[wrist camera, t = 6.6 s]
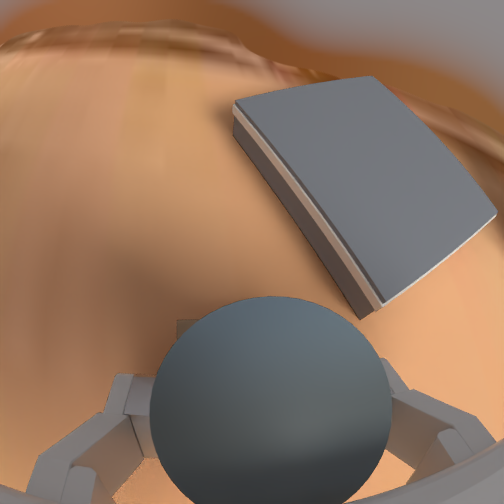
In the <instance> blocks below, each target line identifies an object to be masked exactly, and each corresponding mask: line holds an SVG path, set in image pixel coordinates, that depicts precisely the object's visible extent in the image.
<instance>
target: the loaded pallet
mask: <svg viewBox="0 0 504 504" xmlns="http://www.w3.org/2000/svg"><path fill="white" fill-rule="evenodd" d="M391 420H392V397H391V391H390V385H389V381H388V378H387V375H386V372H385V369H384V367H383V365H382V362H381V360H380V358H379V356H378V355H377V353H376V352H375V350H374V348H373V347H372V345H371V344H370V343H369V341H368V340H367V339H366V338H365V337H364V335H363V334H362V333H361V332H360V331H359V330H358V329H357V328H355V327H354V326H353V325H352V324H351V323H350V322H348V321H347V320H346V319H344V318H343V317H341V316H340V315H338V314H336V313H335V312H333V311H331V310H329V309H328V308H325V307H323V306H320V305H318V304H315V303H312V302H309V301H305V300H301V299H296V298H289V297H273V296H268V297H257V298H251V299H246V300H242V301H237V302H235V303H232V304H229V305H226V306H223V307H221V308H219V309H217V310H215V311H213V312H211V313H209V314H208V315H206V316H205V317H203V318H202V319H200V320H177V341H176V342H175V344H174V345H173V346H172V348H171V349H170V351H169V352H168V354H167V355H166V357H165V358H164V360H163V362H162V364H161V366H160V368H159V370H158V372H157V375H156V378H155V381H154V385H153V388H152V393H151V399H150V412H149V421H150V429H151V436H152V440H153V444H154V447H155V451H156V453H157V455H158V458H159V460H160V462H161V464H162V466H163V468H164V470H165V471H166V473H167V474H168V476H169V478H170V479H171V480H172V482H173V483H174V484H175V485H176V486H177V487H178V489H179V490H180V491H181V492H182V493H183V494H184V495H185V496H187V497H188V498H189V499H190V500H191V501H192V502H194V503H195V504H342V503H344V502H345V501H346V500H348V499H349V498H350V497H351V496H352V495H353V494H355V493H356V492H357V491H358V490H359V489H360V488H361V486H362V485H363V484H364V483H365V482H366V481H367V480H368V478H369V477H370V475H371V474H372V473H373V471H374V470H375V468H376V466H377V465H378V463H379V461H380V459H381V457H382V455H383V452H384V450H385V447H386V444H387V441H388V437H389V433H390V428H391Z"/></svg>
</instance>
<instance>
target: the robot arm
mask: <svg viewBox="0 0 504 504" xmlns="http://www.w3.org/2000/svg"><path fill="white" fill-rule="evenodd" d="M380 360H381V362H382V365H383V367H384V369H385V372H386V375H387V378H388V381H389V385H390V391H391V397H392V420H391V428H390V433H389V437H388V441H387V444H386V447H385V449H386V450H388V451H389V452H391V453H392V454H393V455H395V456H396V457H398V458H399V459H401V460H402V461H403V462H405V463H406V464H408V465H409V466H411V467H412V468H414V469H415V471H414V472H413V474H412V475H411V477H410V478H409V480H408V481H407V483H406V485H404V486H401V487H398V488H395V489H392V490H389V491H386V492H383V493H380V494H377V495H374V496H370V497H367V498H363V499H360V500H356V501H352V502H348V503H344V504H504V438H503V439H502V440H500V441H498V442H496V441H495V439H494V438H493V437H492V436H491V434H490V433H489V432H488V431H487V429H486V428H485V427H484V426H483V424H482V423H481V422H480V421H479V420H478V418H477V417H476V416H474V415H471V414H469V413H467V412H464V411H462V410H460V409H457V408H455V407H453V406H450V405H448V404H446V403H444V402H441V401H439V400H437V399H434V398H432V397H430V396H428V395H426V394H423V393H421V392H419V391H417V390H414V389H413V390H409V389H408V387H407V386H406V385H405V383H404V382H403V380H402V379H401V378H400V376H399V375H398V374H397V373H396V371H395V370H394V369H393V367H392V366H391V365H390V363H389V362H388V361H387V360H386V359H385V358H380ZM155 378H156V375H146V374H126V373H118V374H117V375H116V376H115V378H114V381H113V384H112V387H111V390H110V393H109V396H108V399H107V402H106V405H105V409H104V412H103V413H97V414H96V415H94V416H93V417H92V418H90V419H89V420H87V421H86V422H85V423H83V424H82V425H81V426H79V427H78V428H77V429H75V430H74V431H72V432H71V433H70V434H68V435H67V436H66V437H64V438H63V439H61V440H60V441H59V442H57V443H56V444H55V445H53V446H52V447H50V448H49V449H48V450H46V451H45V452H43V453H42V454H41V455H39V457H38V459H37V462H36V464H35V467H34V470H33V473H32V475H31V478H30V481H29V484H28V487H27V489H26V492H25V493H24V492H21V491H18V490H15V489H13V488H10V487H7V486H5V485H2V484H0V504H116V503H115V501H114V500H113V498H112V496H113V495H114V494H115V492H116V491H117V490H118V489H119V488H120V487H121V486H122V484H123V483H124V482H125V481H126V480H127V479H128V478H129V476H130V475H131V474H132V473H133V472H134V471H135V469H136V468H137V467H138V466H139V465H140V464H141V462H142V461H143V460H144V458H158V455H157V453H156V451H155V447H154V444H153V440H152V436H151V429H150V421H149V412H150V399H151V393H152V388H153V385H154V381H155Z"/></svg>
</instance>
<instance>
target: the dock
mask: <svg viewBox="0 0 504 504" xmlns="http://www.w3.org/2000/svg"><path fill="white" fill-rule="evenodd" d="M232 113H233V114H234V127H233V136H234V137H235V139H236V140H237V141H238V143H239V144H240V145H241V147H242V148H243V149H244V151H245V152H246V154H247V155H248V156H249V158H250V159H251V160H252V162H253V163H254V164H255V166H256V167H257V169H258V170H259V171H260V173H261V174H262V175H263V177H264V178H265V180H266V181H267V182H268V184H269V185H270V187H271V188H272V189H273V191H274V192H275V194H276V195H277V196H278V198H279V199H280V201H281V202H282V204H283V205H284V206H285V208H286V209H287V211H288V212H289V214H290V215H291V216H292V218H293V219H294V221H295V222H296V224H297V225H298V227H299V228H300V230H301V231H302V232H303V234H304V235H305V237H306V238H307V240H308V241H309V243H310V244H311V246H312V247H313V249H314V250H315V252H316V253H317V255H318V256H319V258H320V259H321V261H322V262H323V264H324V265H325V267H326V268H327V270H328V271H329V273H330V274H331V276H332V277H333V279H334V280H335V282H336V283H337V285H338V287H339V288H340V290H341V291H342V293H343V294H344V296H345V297H346V299H347V301H348V302H349V304H350V305H351V307H352V308H353V310H354V312H355V313H356V315H357V316H358V318H359V319H360V320H361V319H363V318H364V317H366V316H367V315H368V314H370V313H371V312H373V311H374V310H375V311H378V310H379V309H381V308H382V307H384V306H385V305H386V304H388V303H389V302H391V301H392V300H393V299H395V298H396V297H398V296H399V295H400V294H402V293H403V292H404V291H406V290H407V289H408V288H410V287H411V286H412V285H414V284H415V283H416V282H418V281H419V280H420V279H422V278H423V277H424V276H426V275H427V274H428V273H430V272H431V271H432V270H433V269H435V268H436V267H437V266H438V265H440V264H441V263H442V262H443V261H445V260H446V259H447V258H448V257H450V256H451V255H452V254H453V253H454V252H456V251H457V250H458V249H459V248H460V247H462V246H463V245H464V244H465V243H466V242H467V241H469V240H470V239H471V238H472V237H473V236H474V235H476V234H477V233H478V232H479V231H480V230H481V229H482V228H483V227H485V226H486V225H487V224H488V223H489V222H490V221H491V220H492V219H493V218H494V217H496V216H497V215H496V214H497V213H498V211H497V209H496V208H495V206H494V205H493V204H492V202H491V201H490V199H489V198H488V197H487V195H486V194H485V193H484V192H483V190H482V189H481V188H480V186H479V185H478V184H477V182H476V181H475V180H474V179H473V177H472V176H471V175H470V174H469V173H468V171H467V170H466V169H465V168H464V167H463V165H462V164H461V163H460V162H459V161H458V159H457V158H456V157H455V156H454V155H453V154H452V153H451V151H450V150H449V149H448V148H447V147H446V146H445V145H444V144H443V143H442V142H441V140H440V139H439V138H438V137H437V136H436V135H435V134H434V133H433V132H432V131H431V130H430V129H429V128H428V127H427V126H426V125H425V124H424V123H423V122H422V121H421V120H420V119H419V118H418V117H417V116H416V115H415V114H414V113H413V112H412V111H411V110H410V109H409V108H408V107H407V106H406V105H405V104H404V103H403V102H402V101H400V100H399V99H398V98H397V97H396V96H395V95H394V94H393V93H392V92H390V91H389V90H388V89H387V88H386V87H385V86H384V85H382V84H381V83H380V82H379V81H378V80H377V79H375V78H374V77H373V76H366V77H357V78H349V79H341V80H334V81H328V82H321V83H315V84H309V85H304V86H298V87H293V88H288V89H283V90H278V91H273V92H269V93H264V94H260V95H255V96H251V97H247V98H243V99H239V100H235V104H233V110H232Z"/></svg>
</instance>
